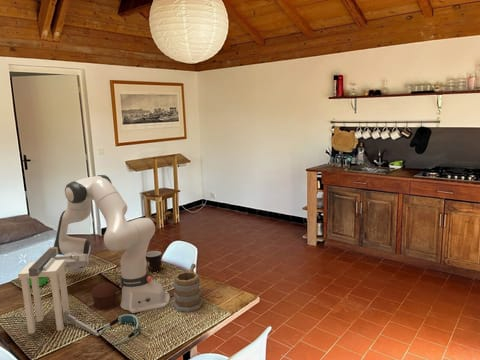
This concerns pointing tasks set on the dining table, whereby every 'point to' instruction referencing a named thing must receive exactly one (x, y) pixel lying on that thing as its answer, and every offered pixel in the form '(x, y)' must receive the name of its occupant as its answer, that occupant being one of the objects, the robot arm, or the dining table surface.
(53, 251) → the pin
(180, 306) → the tankard
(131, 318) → the sunglasses
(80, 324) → the caliper
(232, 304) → the dining table surface
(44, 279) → the fruit basket
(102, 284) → the muffin
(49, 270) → the pin stand
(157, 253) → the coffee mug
